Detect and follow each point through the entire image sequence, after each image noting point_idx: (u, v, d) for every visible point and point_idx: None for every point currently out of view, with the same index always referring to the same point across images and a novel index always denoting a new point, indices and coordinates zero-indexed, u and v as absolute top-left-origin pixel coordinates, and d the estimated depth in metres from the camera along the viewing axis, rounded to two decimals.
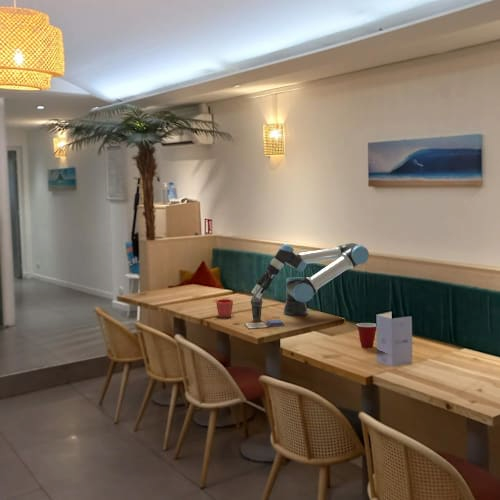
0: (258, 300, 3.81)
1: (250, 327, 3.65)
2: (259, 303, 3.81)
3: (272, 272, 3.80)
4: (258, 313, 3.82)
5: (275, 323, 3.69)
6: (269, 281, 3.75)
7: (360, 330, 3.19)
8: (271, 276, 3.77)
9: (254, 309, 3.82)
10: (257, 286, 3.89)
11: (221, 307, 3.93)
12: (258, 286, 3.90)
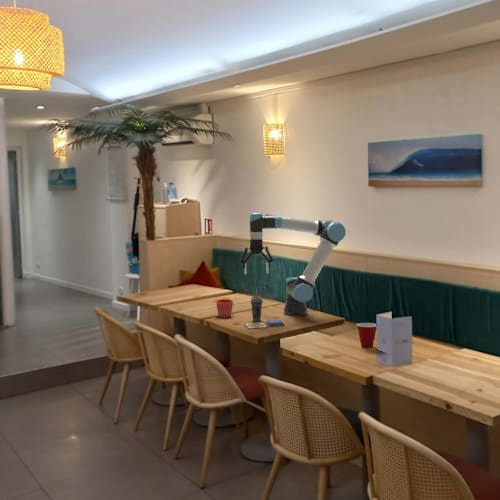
0: (258, 300, 3.81)
1: (250, 327, 3.65)
2: (259, 303, 3.81)
3: (250, 244, 3.80)
4: (258, 313, 3.82)
5: (275, 323, 3.69)
6: (243, 254, 3.79)
7: (360, 330, 3.19)
8: (245, 249, 3.79)
9: (254, 309, 3.82)
10: (266, 264, 3.83)
11: (221, 307, 3.93)
12: (266, 264, 3.83)
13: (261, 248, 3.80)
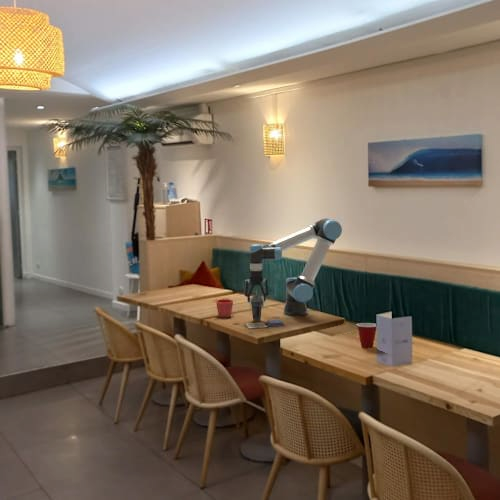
0: (258, 300, 3.81)
1: (250, 327, 3.65)
2: (259, 303, 3.81)
3: None
4: (258, 313, 3.82)
5: (275, 323, 3.69)
6: (245, 287, 3.82)
7: (360, 330, 3.19)
8: (245, 282, 3.82)
9: (254, 309, 3.82)
10: (262, 298, 3.85)
11: (221, 307, 3.93)
12: (262, 297, 3.84)
13: (261, 279, 3.82)
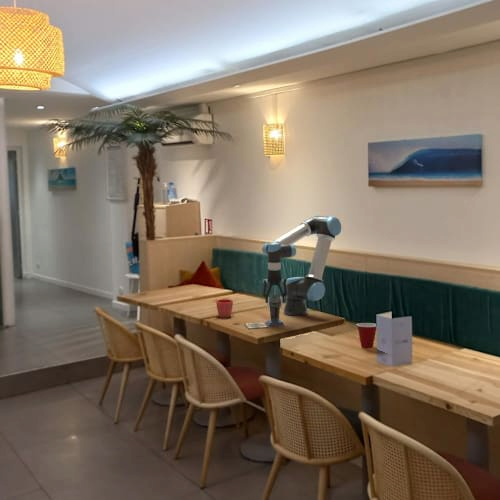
0: (276, 300, 3.68)
1: (250, 327, 3.65)
2: (277, 303, 3.69)
3: None
4: (276, 314, 3.70)
5: (275, 323, 3.69)
6: (263, 287, 3.69)
7: (360, 330, 3.19)
8: (263, 282, 3.69)
9: (272, 310, 3.70)
10: (280, 298, 3.73)
11: (221, 307, 3.93)
12: (280, 298, 3.72)
13: (279, 279, 3.70)
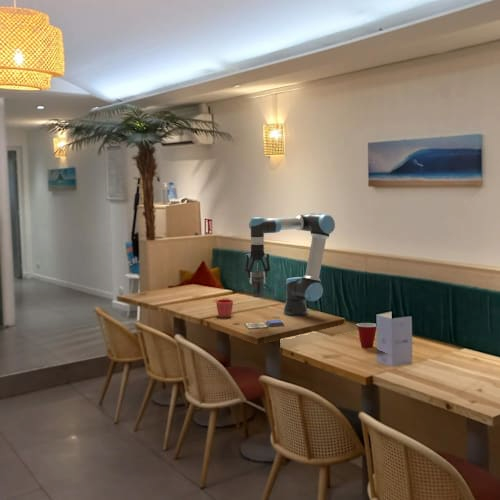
0: (259, 275, 3.64)
1: (250, 327, 3.65)
2: (260, 278, 3.64)
3: None
4: (259, 289, 3.65)
5: (275, 323, 3.69)
6: (246, 262, 3.65)
7: (360, 330, 3.19)
8: (246, 256, 3.65)
9: (255, 285, 3.65)
10: (263, 274, 3.68)
11: (221, 307, 3.93)
12: (263, 273, 3.67)
13: (262, 254, 3.65)
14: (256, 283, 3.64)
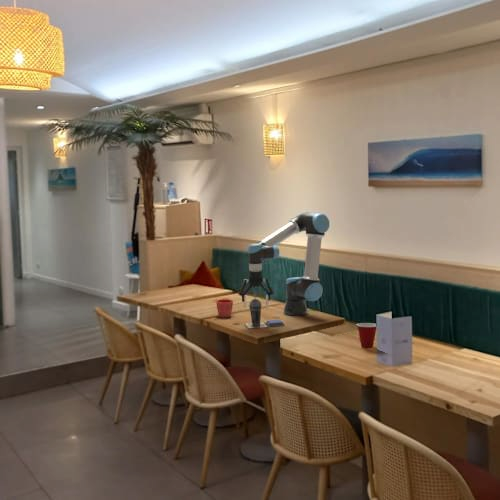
0: (257, 304, 3.65)
1: (250, 327, 3.65)
2: (258, 307, 3.66)
3: (249, 277, 3.66)
4: (257, 318, 3.67)
5: (275, 323, 3.69)
6: (242, 287, 3.66)
7: (360, 330, 3.19)
8: (244, 281, 3.66)
9: (253, 314, 3.67)
10: (266, 297, 3.70)
11: (221, 307, 3.93)
12: (266, 296, 3.69)
13: (261, 280, 3.66)
14: (254, 312, 3.66)
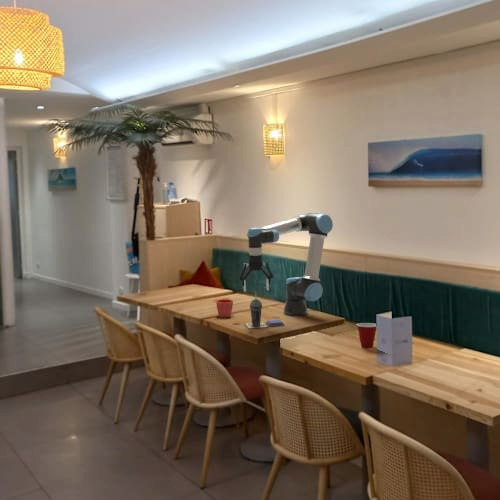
0: (257, 304, 3.65)
1: (250, 327, 3.65)
2: (258, 307, 3.66)
3: (249, 261, 3.65)
4: (257, 318, 3.67)
5: (275, 323, 3.69)
6: (242, 271, 3.65)
7: (360, 330, 3.19)
8: None
9: (253, 314, 3.67)
10: (266, 281, 3.69)
11: (221, 307, 3.93)
12: (266, 280, 3.68)
13: (260, 264, 3.65)
14: (255, 312, 3.66)
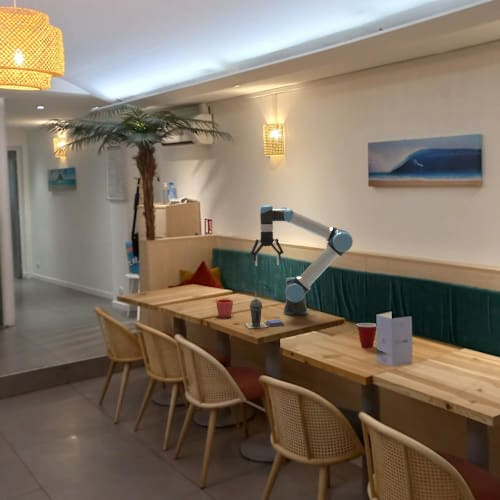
0: (257, 304, 3.66)
1: (250, 327, 3.65)
2: (259, 307, 3.66)
3: None
4: (257, 318, 3.67)
5: (275, 323, 3.69)
6: (254, 246, 3.85)
7: (360, 330, 3.19)
8: (255, 241, 3.85)
9: (253, 314, 3.67)
10: (277, 256, 3.89)
11: (221, 307, 3.93)
12: (277, 256, 3.88)
13: (271, 240, 3.86)
14: (255, 312, 3.66)
